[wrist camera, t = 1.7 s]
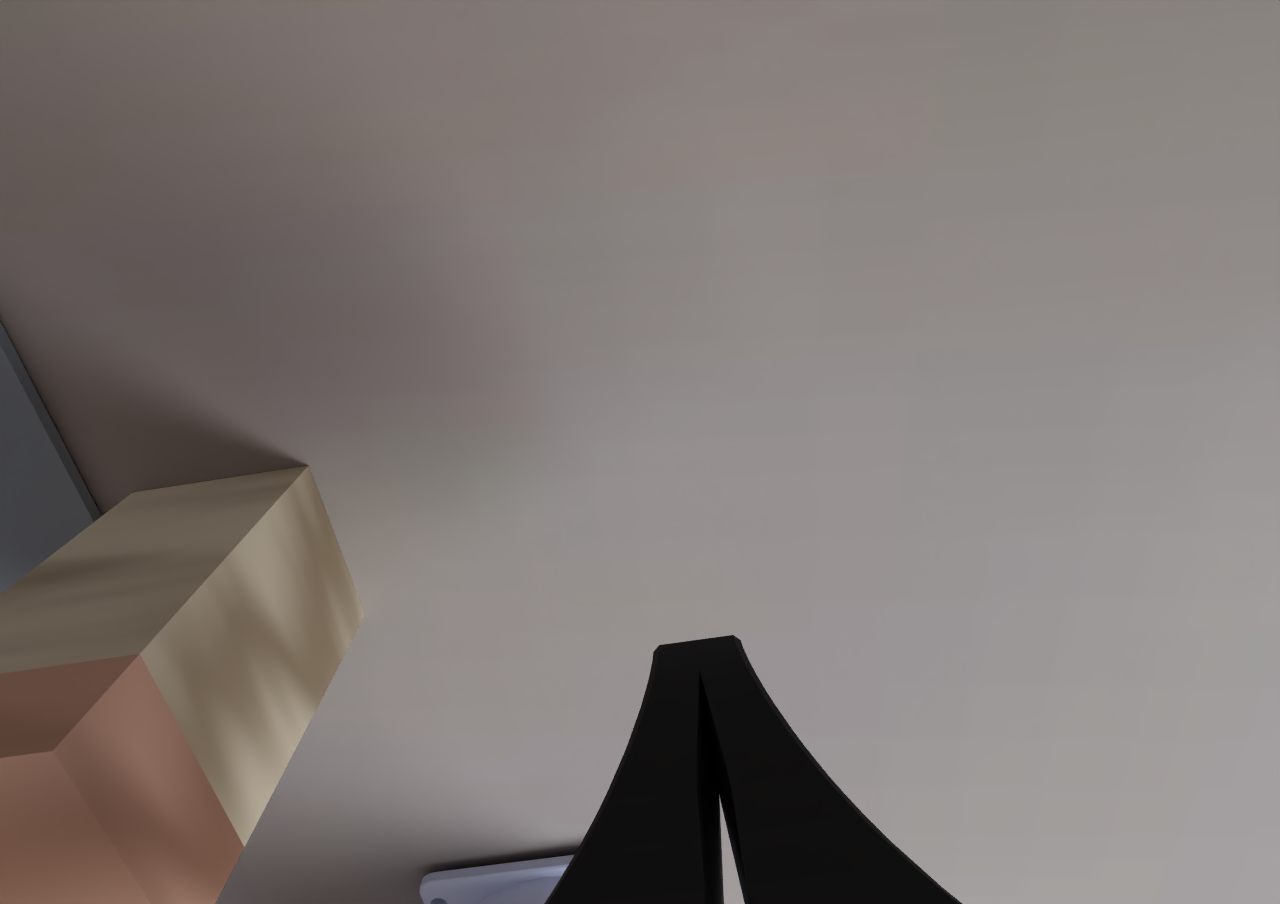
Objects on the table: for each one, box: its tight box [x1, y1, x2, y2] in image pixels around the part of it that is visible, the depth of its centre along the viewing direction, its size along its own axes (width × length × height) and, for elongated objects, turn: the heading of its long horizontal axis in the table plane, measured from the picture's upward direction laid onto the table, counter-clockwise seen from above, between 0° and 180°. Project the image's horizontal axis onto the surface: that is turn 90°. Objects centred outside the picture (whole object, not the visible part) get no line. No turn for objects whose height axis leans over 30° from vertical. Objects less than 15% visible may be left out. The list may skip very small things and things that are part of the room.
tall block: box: [0, 466, 365, 904], centre depth 15 cm, size 4×4×9 cm
